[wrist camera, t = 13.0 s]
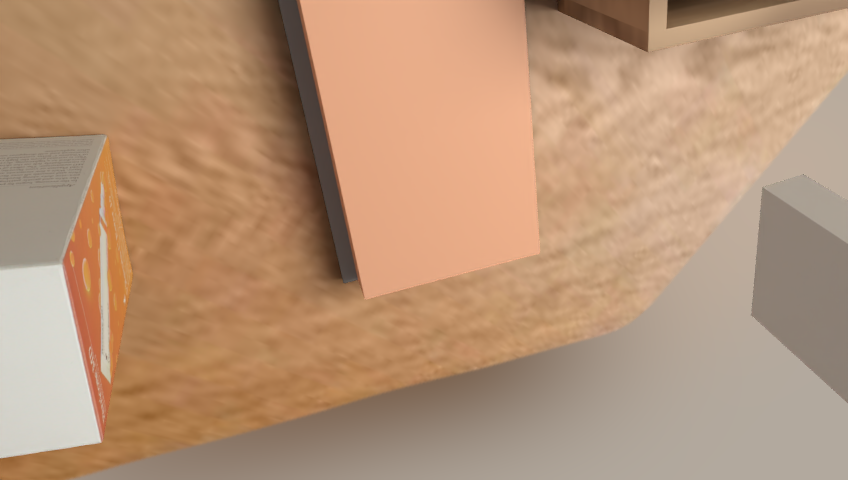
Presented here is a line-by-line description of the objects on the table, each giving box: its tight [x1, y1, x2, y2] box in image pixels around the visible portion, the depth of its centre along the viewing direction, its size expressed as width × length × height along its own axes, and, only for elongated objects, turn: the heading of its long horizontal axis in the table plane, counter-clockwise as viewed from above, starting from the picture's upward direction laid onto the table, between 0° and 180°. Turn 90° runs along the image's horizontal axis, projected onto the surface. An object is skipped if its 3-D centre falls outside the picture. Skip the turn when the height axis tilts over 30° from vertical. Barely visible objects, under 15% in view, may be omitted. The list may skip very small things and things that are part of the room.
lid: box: [296, 0, 540, 299], centre depth 35 cm, size 10×22×2 cm, turn 8°
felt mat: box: [278, 0, 533, 283], centre depth 37 cm, size 22×12×1 cm, turn 8°
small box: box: [0, 134, 133, 458], centre depth 30 cm, size 8×6×13 cm
